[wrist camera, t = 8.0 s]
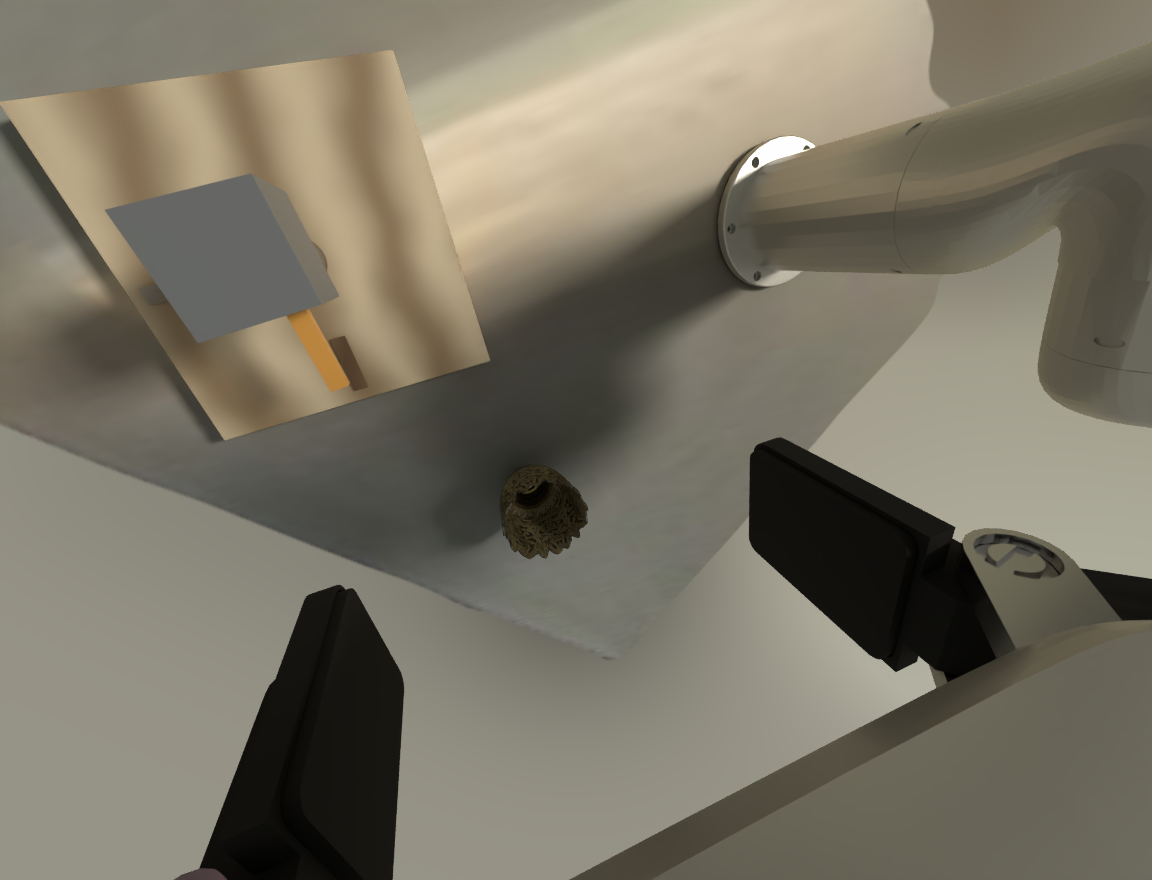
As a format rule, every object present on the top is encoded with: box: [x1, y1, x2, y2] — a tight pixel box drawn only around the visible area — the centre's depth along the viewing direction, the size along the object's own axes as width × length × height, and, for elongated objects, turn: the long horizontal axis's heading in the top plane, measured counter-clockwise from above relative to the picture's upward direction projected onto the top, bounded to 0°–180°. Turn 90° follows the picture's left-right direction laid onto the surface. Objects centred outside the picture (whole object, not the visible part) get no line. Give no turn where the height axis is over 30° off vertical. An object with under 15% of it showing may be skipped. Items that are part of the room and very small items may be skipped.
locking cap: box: [105, 173, 350, 392], centre depth 21 cm, size 10×5×7 cm, turn 16°
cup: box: [500, 465, 588, 559], centre depth 39 cm, size 8×7×8 cm
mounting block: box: [0, 50, 490, 440], centre depth 27 cm, size 20×20×8 cm
